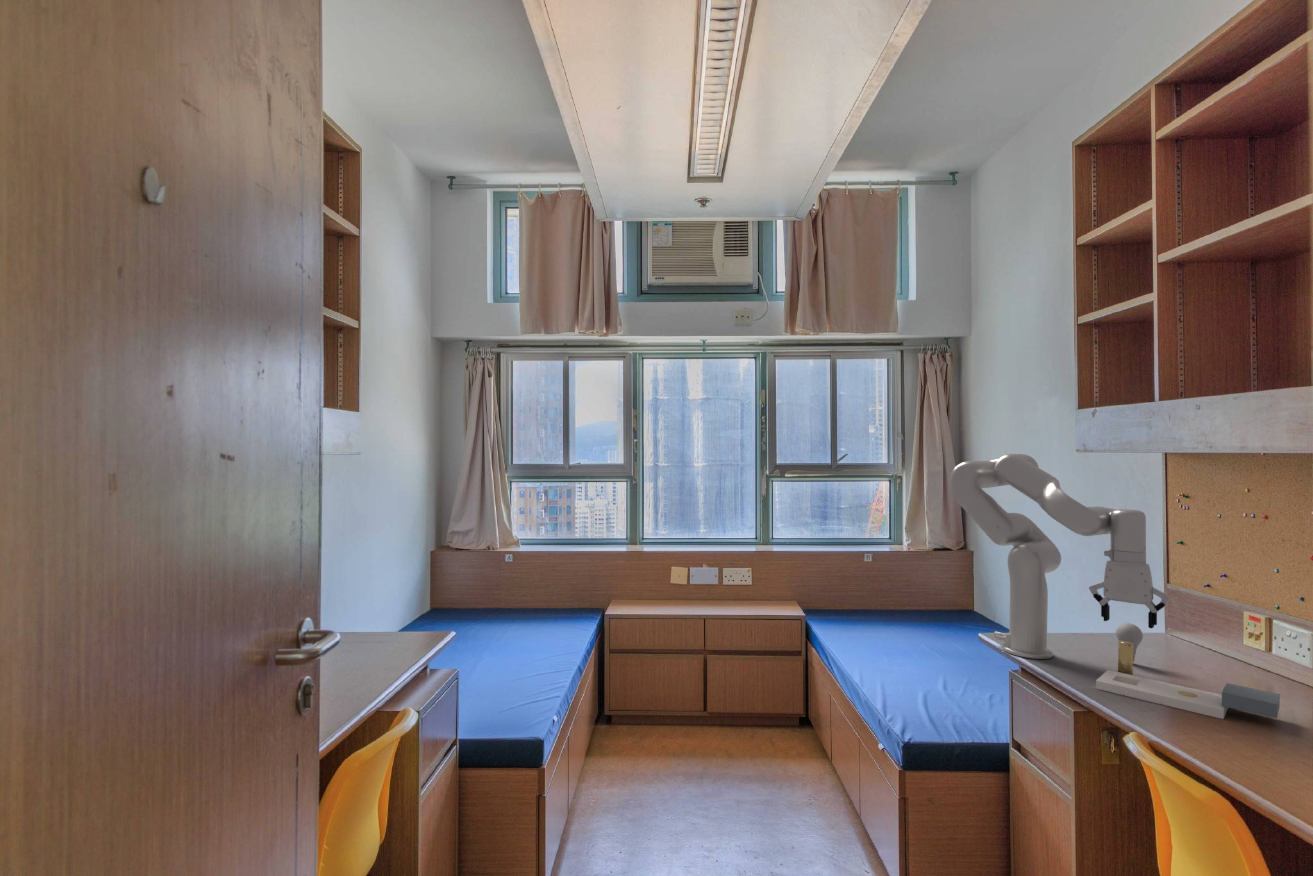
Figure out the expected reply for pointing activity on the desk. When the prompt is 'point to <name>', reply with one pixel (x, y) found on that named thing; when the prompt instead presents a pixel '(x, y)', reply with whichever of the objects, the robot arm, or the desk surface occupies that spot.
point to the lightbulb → (1130, 635)
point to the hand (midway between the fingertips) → (1128, 623)
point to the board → (1163, 693)
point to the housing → (1251, 700)
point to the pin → (1125, 657)
